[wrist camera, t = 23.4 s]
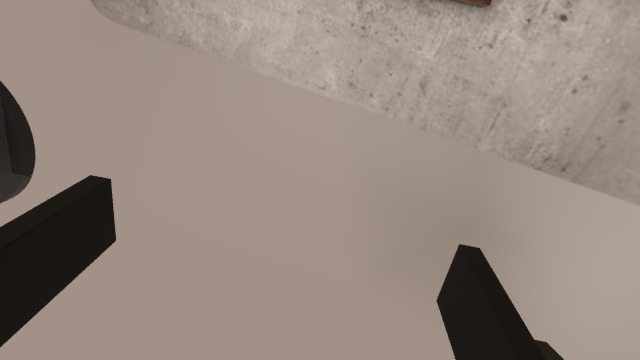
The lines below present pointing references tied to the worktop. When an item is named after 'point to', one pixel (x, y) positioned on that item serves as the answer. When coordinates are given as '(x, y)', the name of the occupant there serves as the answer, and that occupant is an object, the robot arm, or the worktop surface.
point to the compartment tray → (475, 2)
